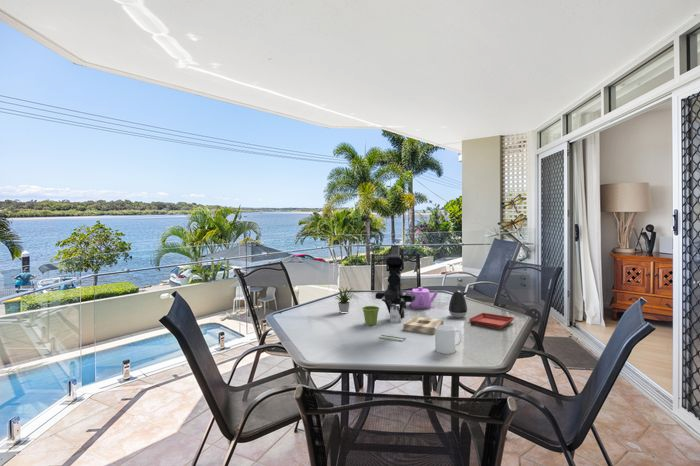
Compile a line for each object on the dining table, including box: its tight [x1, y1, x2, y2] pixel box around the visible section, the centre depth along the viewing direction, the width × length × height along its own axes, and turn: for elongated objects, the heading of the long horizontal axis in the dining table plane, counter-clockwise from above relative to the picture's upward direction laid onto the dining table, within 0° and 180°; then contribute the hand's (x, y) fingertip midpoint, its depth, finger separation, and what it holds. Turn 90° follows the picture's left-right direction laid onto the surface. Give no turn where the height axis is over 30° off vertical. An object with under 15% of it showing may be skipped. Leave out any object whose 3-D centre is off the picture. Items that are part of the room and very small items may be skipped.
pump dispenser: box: [448, 290, 468, 319], centre depth 215 cm, size 10×10×15 cm
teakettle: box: [405, 286, 439, 310], centre depth 242 cm, size 17×17×12 cm
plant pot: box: [362, 305, 380, 326], centre depth 204 cm, size 9×9×9 cm
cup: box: [434, 324, 463, 355], centre depth 162 cm, size 8×12×10 cm
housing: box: [402, 315, 445, 335], centre depth 192 cm, size 16×16×4 cm
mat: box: [378, 334, 407, 342], centre depth 182 cm, size 12×12×1 cm
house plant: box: [333, 286, 355, 313], centre depth 229 cm, size 14×14×16 cm
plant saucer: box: [468, 312, 515, 330], centre depth 200 cm, size 18×18×3 cm
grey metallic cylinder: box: [389, 304, 402, 325], centre depth 182 cm, size 5×5×8 cm
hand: (395, 314), depth 182 cm, fingers closed on grey metallic cylinder, 5 cm apart
